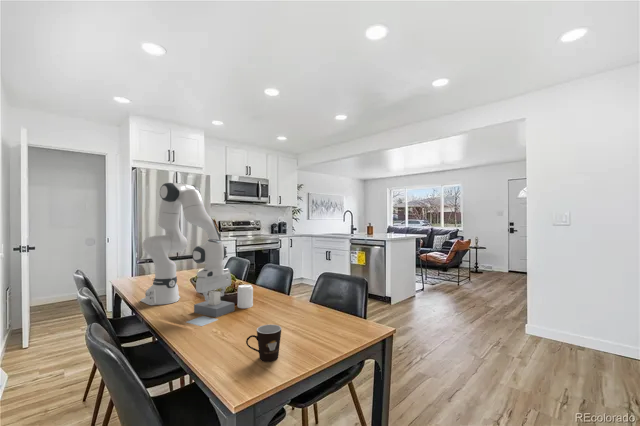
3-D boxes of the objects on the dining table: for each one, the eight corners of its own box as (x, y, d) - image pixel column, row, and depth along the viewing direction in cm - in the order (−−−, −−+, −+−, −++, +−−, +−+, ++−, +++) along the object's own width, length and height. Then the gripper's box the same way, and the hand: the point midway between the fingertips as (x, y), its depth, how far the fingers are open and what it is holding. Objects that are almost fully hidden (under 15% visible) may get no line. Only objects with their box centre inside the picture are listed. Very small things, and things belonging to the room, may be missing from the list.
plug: (208, 312, 152) (208, 292, 152) (214, 309, 156) (214, 290, 156) (214, 313, 150) (214, 293, 150) (220, 311, 154) (220, 291, 154)
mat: (185, 324, 137) (185, 322, 137) (203, 317, 146) (203, 315, 146) (201, 328, 132) (201, 326, 132) (219, 321, 141) (219, 319, 141)
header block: (193, 314, 152) (194, 304, 152) (212, 308, 162) (212, 299, 162) (216, 319, 144) (216, 309, 144) (234, 312, 154) (234, 302, 154)
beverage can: (254, 305, 166) (254, 284, 167) (249, 310, 158) (250, 287, 159) (240, 305, 167) (240, 284, 167) (235, 309, 159) (235, 287, 159)
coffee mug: (282, 351, 109) (282, 324, 109) (280, 363, 100) (280, 333, 100) (250, 352, 108) (250, 324, 109) (245, 363, 100) (245, 333, 100)
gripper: (225, 267, 164) (225, 292, 164) (194, 273, 146) (193, 302, 146) (234, 268, 161) (234, 294, 161) (202, 274, 143) (202, 303, 143)
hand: (214, 298), depth 153 cm, fingers open, 8 cm apart
